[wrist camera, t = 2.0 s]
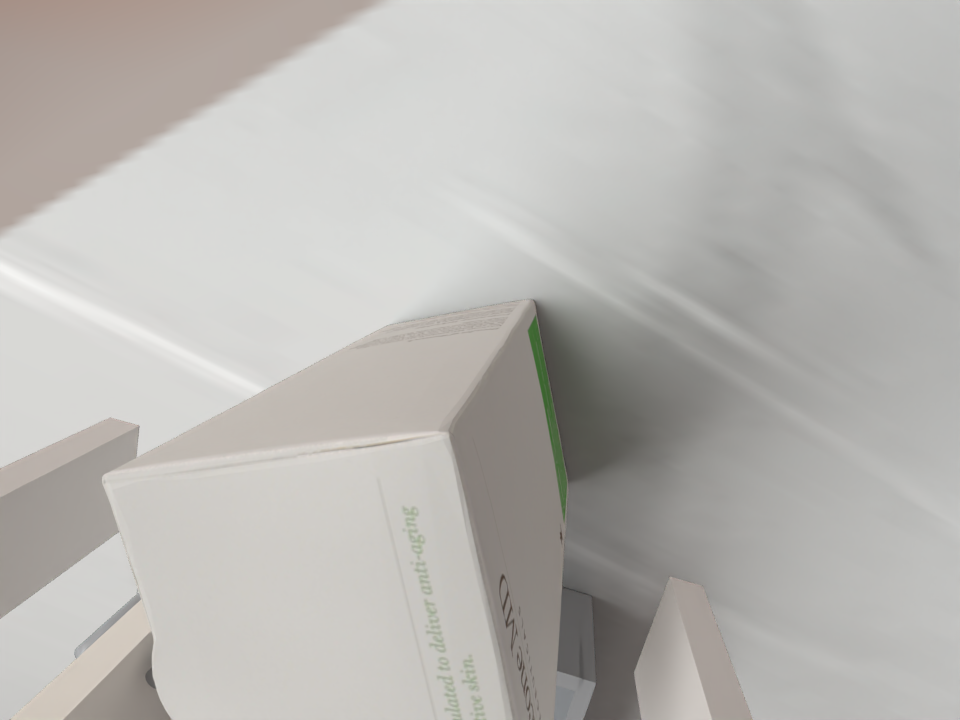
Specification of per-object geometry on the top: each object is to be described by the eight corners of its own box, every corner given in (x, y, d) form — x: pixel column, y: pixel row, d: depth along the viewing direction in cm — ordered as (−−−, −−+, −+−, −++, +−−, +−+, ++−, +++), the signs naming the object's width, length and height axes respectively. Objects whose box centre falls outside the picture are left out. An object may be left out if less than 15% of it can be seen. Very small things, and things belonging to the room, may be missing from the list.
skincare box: (570, 487, 25) (568, 892, 10) (417, 505, 27) (219, 892, 12) (533, 287, 24) (469, 429, 9) (372, 316, 25) (69, 486, 10)
